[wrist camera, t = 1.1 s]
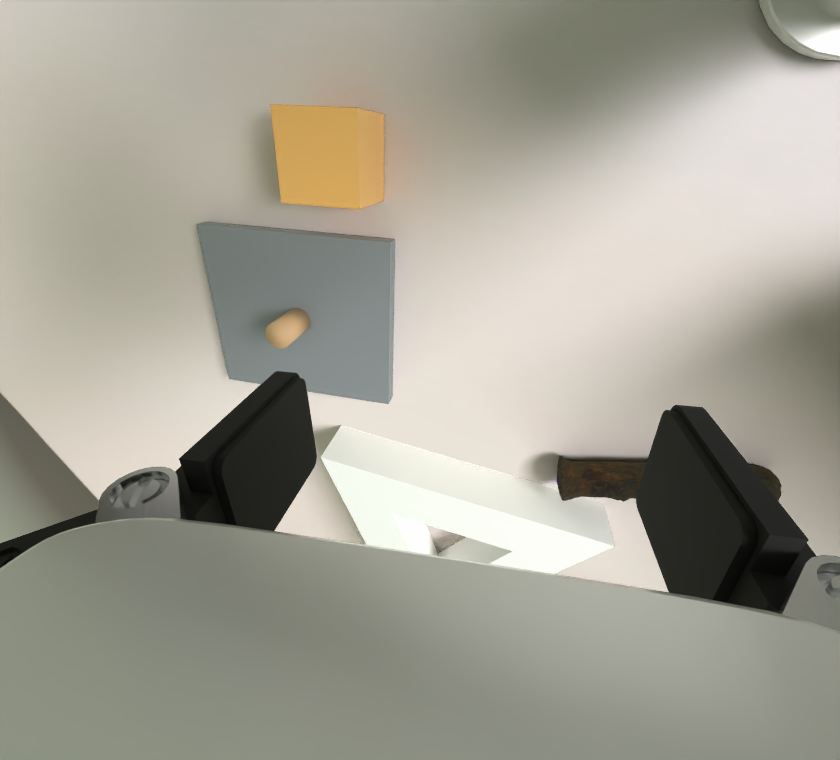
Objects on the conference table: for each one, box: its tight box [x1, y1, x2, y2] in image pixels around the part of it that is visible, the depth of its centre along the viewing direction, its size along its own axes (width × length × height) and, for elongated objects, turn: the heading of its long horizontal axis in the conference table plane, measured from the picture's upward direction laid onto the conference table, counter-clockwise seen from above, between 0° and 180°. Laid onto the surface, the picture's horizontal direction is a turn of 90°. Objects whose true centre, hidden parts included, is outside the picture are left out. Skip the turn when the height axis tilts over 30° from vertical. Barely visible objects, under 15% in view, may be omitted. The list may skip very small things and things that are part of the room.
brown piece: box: [557, 456, 781, 501], centre depth 39 cm, size 19×4×5 cm, turn 97°
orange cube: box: [270, 104, 384, 209], centre depth 31 cm, size 6×6×6 cm
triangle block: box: [321, 425, 615, 574], centre depth 50 cm, size 30×26×6 cm
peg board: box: [197, 222, 395, 404], centre depth 38 cm, size 16×18×6 cm
